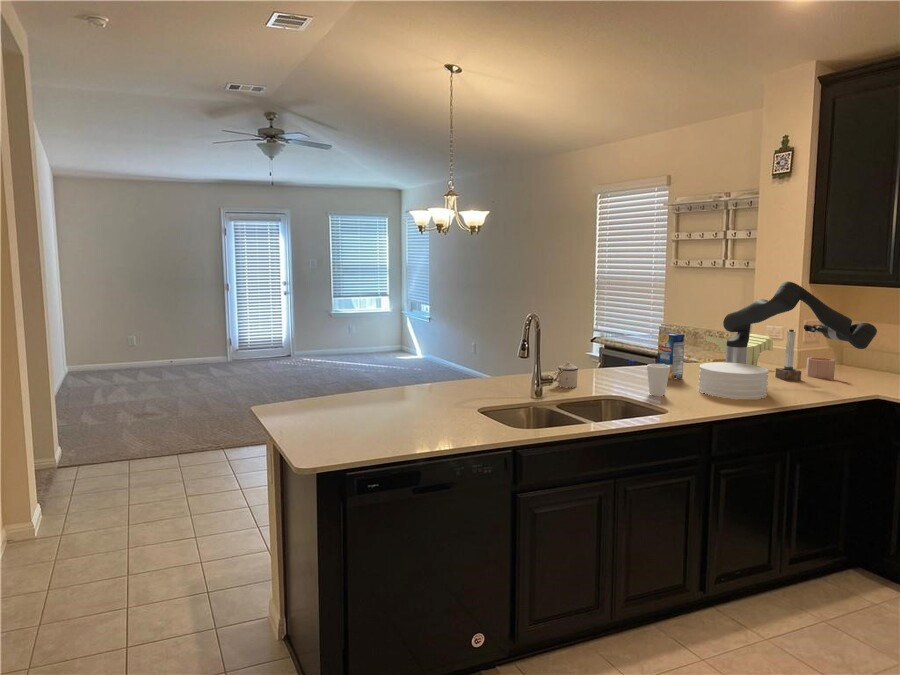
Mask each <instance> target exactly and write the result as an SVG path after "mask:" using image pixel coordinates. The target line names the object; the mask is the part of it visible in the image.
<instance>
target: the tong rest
mask: <svg viewBox="0 0 900 675" xmlns="http://www.w3.org/2000/svg"><path fill="white" fill-rule="evenodd" d="M774 378H776V379H778V380H781V381H786V382H787V381H789V382H790V381H794V382H795V381H796V382H797V381H800V382H801V380H802V370H799V369H795V368H793V371H786V370H784V367H776V368H775V377H774Z"/></svg>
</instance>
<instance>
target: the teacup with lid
mask: <svg viewBox="0 0 900 675" xmlns="http://www.w3.org/2000/svg"><path fill="white" fill-rule="evenodd" d="M561 369H564V371H563V372H562V374H561V375H560V376H559V375H558V374H559V373H558V372H559V370H561ZM578 371H579V367H577V366H576V365H574V364H573V363H571V361H566V362H565V363H564V364H561V365H559V366H558V371H556V372H555V373H554V374H553V376H554V375H556V374H557V373H558V374H557V375H558V376H559V378H558V377H557V378H558V379H557V380H556V381H555V382H557V383H558V384H557V385H558V387H559V386H561V387H560V388H562V387H575V388H577V387H578ZM557 375H556V376H557Z"/></svg>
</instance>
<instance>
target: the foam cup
mask: <svg viewBox="0 0 900 675" xmlns="http://www.w3.org/2000/svg"><path fill="white" fill-rule="evenodd" d="M646 371H647V379H648V391H649V395H650V394H652V395H657V396H656V397H664V396H663V395H665V396H666V390H667V386H668V381H669V379H668V376H669V372H670V366H669V365H664V364H657V363H649V364H647V365H646ZM652 395H651V396H652Z"/></svg>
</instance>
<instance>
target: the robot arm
mask: <svg viewBox="0 0 900 675" xmlns="http://www.w3.org/2000/svg"><path fill="white" fill-rule="evenodd" d="M800 301H801V302H803V303H804V304H806V305H807V306H808V307H809V309H810V310H811V311H812V312H813V314H814V315H815V316H816V319H818V321H819V322H820V323H821V324H813V325H811V324H804V325H803V330H804V331H805V332H809V333H819V334H821V335H823V336H824V337H825V338H827V339H830V340H835V341H843V342H848V343H849V344H850V345H851V346H853V347H854V348H856V349H858V350H864V349H867V348H868V347H869V345H870V344H871V342H873V339H874V338H875V337H876V335H877V333H878V329H877V327H876V326H875V325H873V324H871V323H869V322H858V323H853V320H852V319H851V318H850V317H848V316H846V315H845V314H843V313H840V311H839V312H838V310H835V309H833V308H832V307H830V306H828V305H827V304H825V303H824V302H823V301H821V300H820V299H819V298H818V297H816V296H814V294H812V293H811V292H809V291H808V290H807V289H805V288H804V287H802V286H801V285H800V284H798V283H795V282H793V281H784V282H782V283H781V284H780V286H779V287H778V289H777V290H776V291H775V294H774V295H773V296H772V297H771V299H769V300H768V299H758V300H755V301H754V302H752V303H750V304H749V305H746V306H744V307H743V308H741V309H739V310H737V311H733V312H730V313H728V314H727V315H726V316H725V317H724V319H723V325H722V326H723V328H724V330H725V331H727V332H729V333H736V335H735V336H733V337H731V338H729V339H726V340H727V346H726V353H725V361H724V363H741V364H746V361H747V345H748V341H749V335H750V334H751V325H753V324H758V323H762V322H764V321H766V320H768V319H770V318H772V317H774V316H776V315H780V314H784V313H786V312H789V311H792V310H794V309H795V307H797V305H798V303H799V302H800Z"/></svg>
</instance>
